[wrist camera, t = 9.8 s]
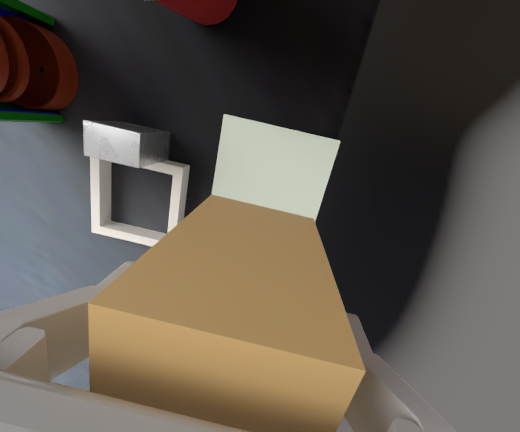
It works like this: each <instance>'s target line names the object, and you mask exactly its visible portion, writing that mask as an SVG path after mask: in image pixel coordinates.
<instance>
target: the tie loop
mask: <svg viewBox="0 0 520 432" xmlns="http://www.w3.org/2000/svg"><path fill="white" fill-rule="evenodd" d="M170 133H171V132H167V131H163V130H159V129H154V128H150V127H146V126H141V125H137V124H133V123H129V122H119V121H96V120H83V139H84V156H89V157H90V179H91V224H92V232H93V233H97V234H102V235H106V236H110V237H114V238H118V239H123V240H127V241H131V242H135V243H139V244H144V245H148V246H152V247H153V246H154V245H155V244H156V243H157V242H158V241H159V240H160V239H162V238H163V237H164V236H165V235H166V233H162V232H158V231H153V230H149V229H145V228H141V227H137V226H132V225H128V224H124V223H120V222H115V221H111V162H114V163H118V164H123V165H127V166H131V167H136V168H145V169H149V170H153V171H157V172H162V173H166V174H170V175H173V180H172V190H171V201H170V211H169V222H168V232H170V231H171V230H172V229H173V228H174V227H175V226H176V225H178V224H179V223H180V222H181V221H182V220H183V219H184V212H185V204H186V195H187V187H188V178H189V170H190V165H187V164H183V163H178V162H174V161H170V160H168V156H169V145H170ZM168 232H167V233H168Z"/></svg>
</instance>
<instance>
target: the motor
mask: <svg viewBox="0 0 520 432" xmlns="http://www.w3.org/2000/svg"><path fill="white" fill-rule="evenodd" d="M29 18H32V19H39V20H42V21H44V22H46V23H48V24H50V25H53V26H54V22H55V18H53V17H51V16H49V15H47V14H45V13H43V12H41V11H39V10H37V9H35V8H33V7H31V6H29V5H27V4H25V3H23V2H21V1H19V0H0V121H13V122H49V123H59V122H65V121H64V118H63V116H62V115H57V114H56V113H49V112H35V111H34V110H32V109H40V110H59V109H62V108H64V107H66V106H68V105H69V104H70V103H71V102H72V100H73V99H74V97H75V95H76V93H77V90H78V83H79V76H78V70H77V66H76V62H75V60H74V57H73V55H72V53H71V52H70V50H69V49H68V47H67V46H66V44H65V43H64V42H63V41H62V40H61V39H60V38H59V37H58V36H57V35H55V34H54V33H53V32H51V31H49V30H47V29H45V28H43V27H41V26H38V25H36V24H34V23H31V22H29V21H27V20H26V19H29ZM40 67H43V69H44V72H43V73H41V72H40V70H39V69H40Z"/></svg>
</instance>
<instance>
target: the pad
mask: <svg viewBox="0 0 520 432" xmlns="http://www.w3.org/2000/svg"><path fill="white" fill-rule="evenodd" d="M340 142H341V141H339V140H335V139H330V138H326V137H322V136H317V135H313V134H309V133H304V132H300V131H296V130H291V129H287V128H283V127H278V126H274V125H270V124H265V123H261V122H257V121H253V120H248V119H244V118H240V117H235V116H231V115H227V114H224V116H223V123H222V129H221V136H220V142H219V149H218V155H217V162H216V168H215V175H214V181H213V188H212V194H211V195H216V196H220V197H225V198H229V199H233V200H237V201H242V202H246V203H250V204H254V205H258V206H263V207H267V208H271V209H275V210H280V211H284V212H288V213H292V214H297V215H301V216H305V217H309V218H313V219H314V221H316V218H317V215H318V211H319V208H320V205H321V202H322V199H323V196H324V192H325V189H326V186H327V183H328V180H329V176H330V173H331V170H332V167H333V164H334V161H335V158H336V155H337V151H338V148H339V145H340Z"/></svg>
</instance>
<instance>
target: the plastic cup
mask: <svg viewBox="0 0 520 432" xmlns="http://www.w3.org/2000/svg"><path fill="white" fill-rule="evenodd" d="M155 1H157V2H158V3H160V4H162V5H164V6H165V7H167V8H169V9H170V10H172V11H174V12H176V13H178V14H180V15H183V16H185V17H187V18H188V19H190V20H192V21H194V22H197V23H199V24H202V25H214V24H219V23H220V22H222V21H223V20H225V19H227V18H228V17H229V15H230V14H231V12H232V11H233V10H234V8H235V7H236V4H237V0H155Z"/></svg>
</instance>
